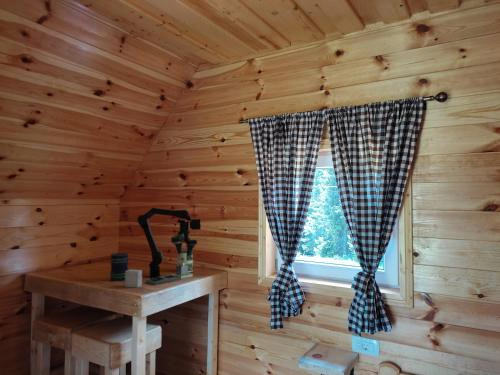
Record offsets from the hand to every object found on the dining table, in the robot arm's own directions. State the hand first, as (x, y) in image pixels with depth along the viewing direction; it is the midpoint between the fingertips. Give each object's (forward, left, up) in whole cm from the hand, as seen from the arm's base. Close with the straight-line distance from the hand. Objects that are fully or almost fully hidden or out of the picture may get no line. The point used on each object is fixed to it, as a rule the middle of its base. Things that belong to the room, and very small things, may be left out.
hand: (183, 255), depth 227 cm
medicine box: (+1, -35, -13) cm, 38 cm away
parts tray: (+1, -2, -13) cm, 13 cm away
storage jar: (-20, -32, -13) cm, 40 cm away
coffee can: (-11, +10, -13) cm, 20 cm away
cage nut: (+1, -2, -13) cm, 13 cm away
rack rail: (+3, -17, -13) cm, 22 cm away
